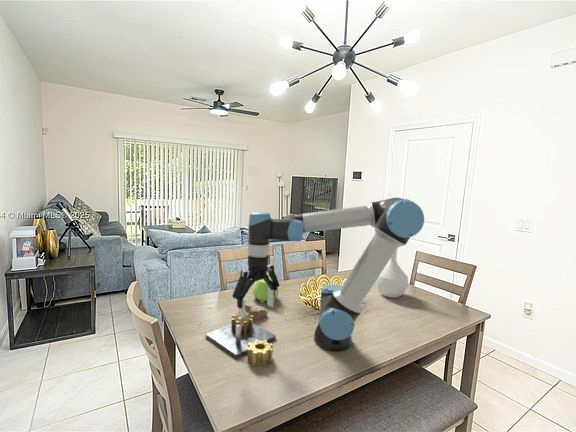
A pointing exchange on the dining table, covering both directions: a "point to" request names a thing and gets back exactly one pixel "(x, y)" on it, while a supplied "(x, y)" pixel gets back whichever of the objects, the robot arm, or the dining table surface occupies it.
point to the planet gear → (259, 353)
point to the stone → (256, 311)
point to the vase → (392, 279)
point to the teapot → (262, 290)
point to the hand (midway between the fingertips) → (256, 310)
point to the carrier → (239, 335)
